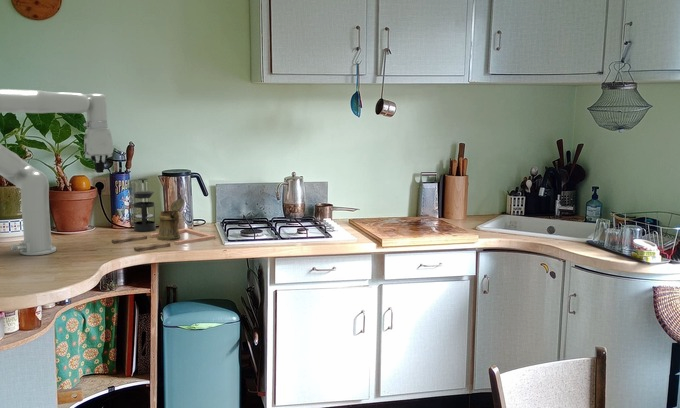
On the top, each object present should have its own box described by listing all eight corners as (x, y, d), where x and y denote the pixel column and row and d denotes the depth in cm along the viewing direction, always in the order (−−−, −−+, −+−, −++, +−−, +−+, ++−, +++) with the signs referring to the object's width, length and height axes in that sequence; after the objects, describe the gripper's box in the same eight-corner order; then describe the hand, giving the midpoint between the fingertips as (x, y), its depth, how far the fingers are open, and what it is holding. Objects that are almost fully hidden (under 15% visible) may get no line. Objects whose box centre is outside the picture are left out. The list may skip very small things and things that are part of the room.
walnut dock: (137, 251, 262) (137, 248, 262) (111, 242, 278) (111, 239, 278) (170, 246, 272) (170, 243, 271) (143, 237, 287) (143, 234, 287)
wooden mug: (173, 243, 278) (171, 199, 275) (153, 238, 286) (151, 195, 283) (190, 239, 284) (189, 196, 282) (170, 235, 293) (169, 193, 290)
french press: (157, 227, 309) (155, 176, 306) (157, 231, 300) (154, 179, 297) (130, 228, 307) (128, 177, 303) (129, 232, 298) (126, 180, 294)
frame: (177, 245, 274) (177, 242, 274) (150, 236, 289) (150, 233, 289) (215, 238, 286) (215, 235, 286) (187, 230, 302) (187, 228, 301)
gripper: (82, 126, 259) (85, 174, 262) (119, 125, 269) (121, 171, 272) (74, 125, 264) (77, 173, 267) (111, 124, 275) (113, 170, 278)
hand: (99, 172), depth 270 cm, fingers closed
